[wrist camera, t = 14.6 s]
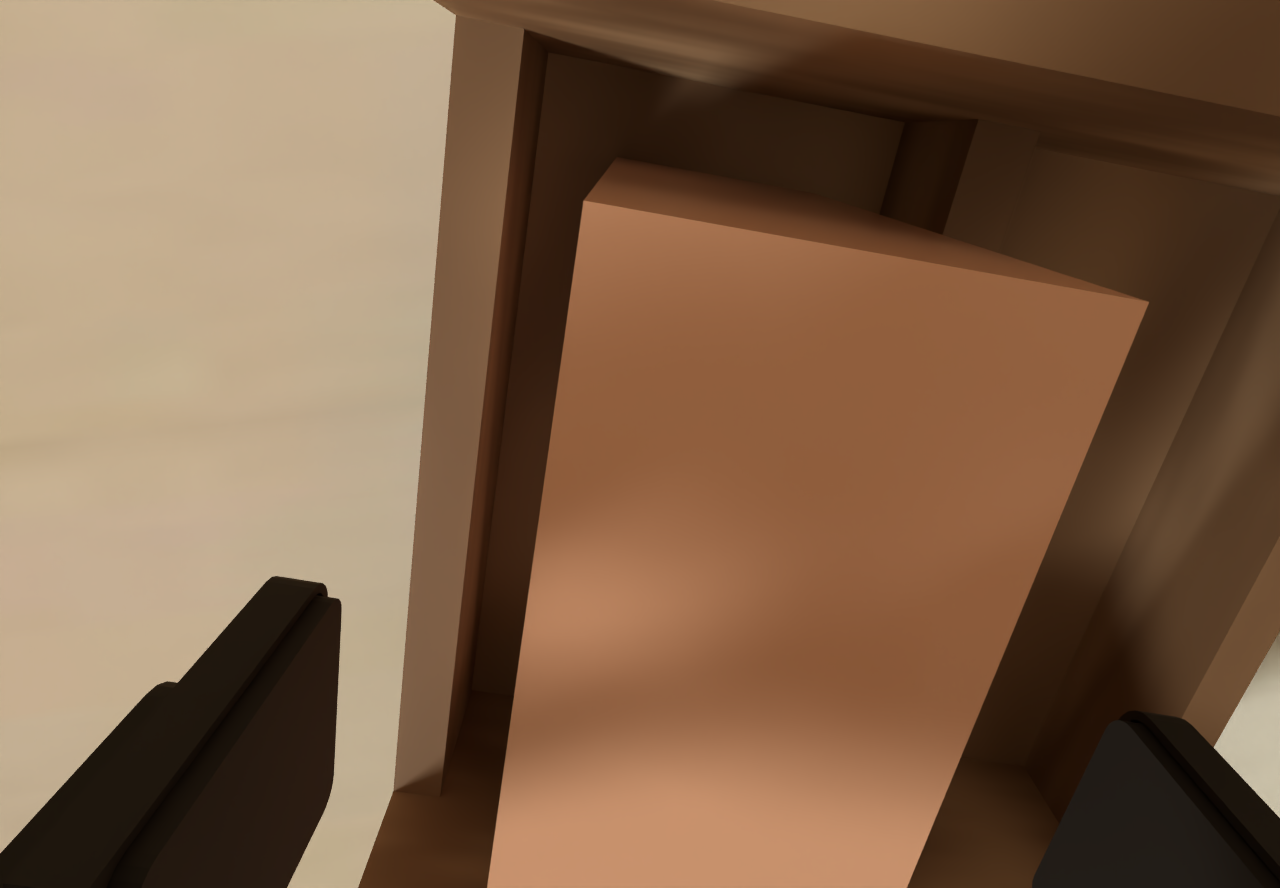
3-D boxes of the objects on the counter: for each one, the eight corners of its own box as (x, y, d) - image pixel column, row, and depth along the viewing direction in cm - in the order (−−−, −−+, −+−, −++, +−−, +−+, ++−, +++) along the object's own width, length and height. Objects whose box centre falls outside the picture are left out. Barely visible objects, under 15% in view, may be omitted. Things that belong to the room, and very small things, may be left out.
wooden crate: (1314, 153, 16) (2201, 176, 7) (1028, 771, 23) (1304, 1216, 13) (509, -9, 15) (314, -236, 6) (438, 690, 21) (288, 1118, 12)
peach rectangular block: (813, 193, 16) (1149, 302, 5) (695, 675, 20) (760, 1239, 10) (617, 156, 15) (582, 201, 5) (541, 654, 20) (440, 1212, 10)
